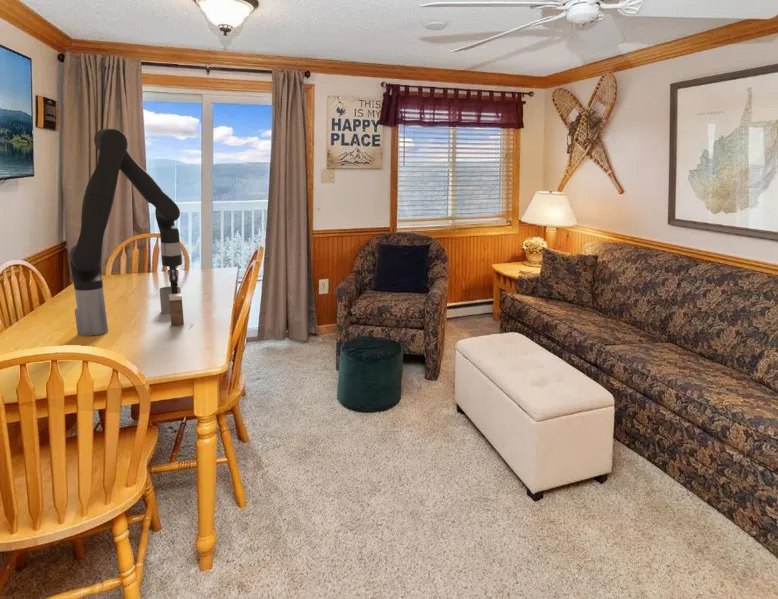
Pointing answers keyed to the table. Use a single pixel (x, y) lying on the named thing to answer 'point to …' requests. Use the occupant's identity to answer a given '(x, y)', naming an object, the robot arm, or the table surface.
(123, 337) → the table surface
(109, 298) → the table surface
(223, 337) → the table surface
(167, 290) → the cup
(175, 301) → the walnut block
